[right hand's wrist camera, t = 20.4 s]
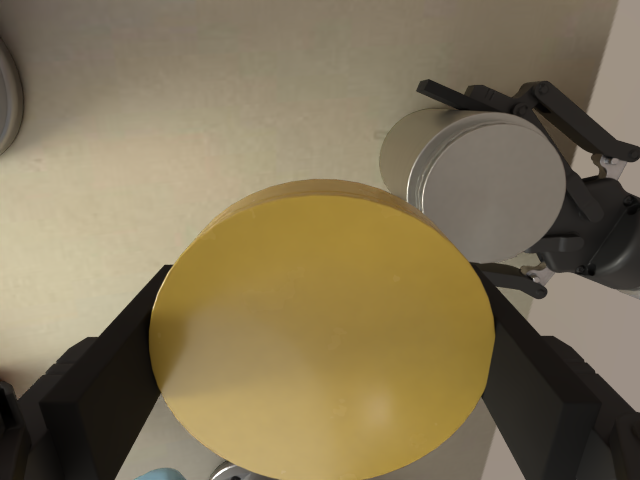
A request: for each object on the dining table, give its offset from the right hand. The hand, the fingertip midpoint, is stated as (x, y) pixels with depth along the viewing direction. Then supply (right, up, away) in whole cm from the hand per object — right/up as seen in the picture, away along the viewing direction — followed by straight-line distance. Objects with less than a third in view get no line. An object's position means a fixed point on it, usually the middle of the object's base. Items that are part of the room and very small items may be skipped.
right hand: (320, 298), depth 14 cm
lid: (0, -1, -3) cm, 3 cm away
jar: (+10, +10, +22) cm, 26 cm away
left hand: (+6, +9, +16) cm, 19 cm away
